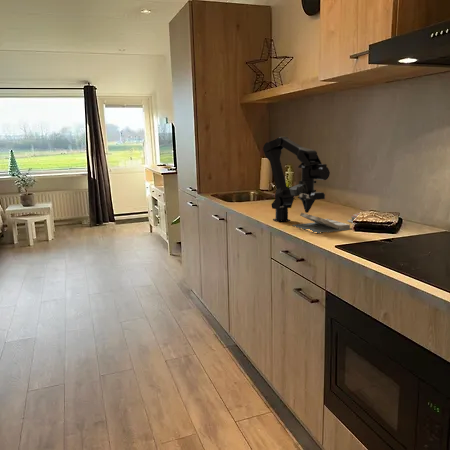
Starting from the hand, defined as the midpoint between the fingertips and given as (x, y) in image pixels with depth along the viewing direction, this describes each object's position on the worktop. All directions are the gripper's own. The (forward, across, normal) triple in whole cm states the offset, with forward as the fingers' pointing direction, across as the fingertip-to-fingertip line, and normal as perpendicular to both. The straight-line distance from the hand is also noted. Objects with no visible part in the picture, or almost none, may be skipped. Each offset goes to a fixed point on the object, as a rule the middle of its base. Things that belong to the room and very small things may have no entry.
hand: (306, 212), depth 191 cm
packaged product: (+7, +9, +26) cm, 29 cm away
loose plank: (+4, +5, +3) cm, 7 cm away
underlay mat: (+6, +5, +4) cm, 9 cm away
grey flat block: (+6, +5, +11) cm, 14 cm away
